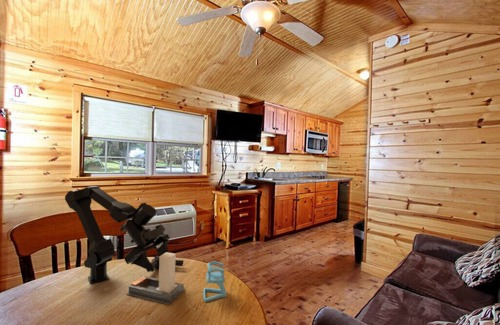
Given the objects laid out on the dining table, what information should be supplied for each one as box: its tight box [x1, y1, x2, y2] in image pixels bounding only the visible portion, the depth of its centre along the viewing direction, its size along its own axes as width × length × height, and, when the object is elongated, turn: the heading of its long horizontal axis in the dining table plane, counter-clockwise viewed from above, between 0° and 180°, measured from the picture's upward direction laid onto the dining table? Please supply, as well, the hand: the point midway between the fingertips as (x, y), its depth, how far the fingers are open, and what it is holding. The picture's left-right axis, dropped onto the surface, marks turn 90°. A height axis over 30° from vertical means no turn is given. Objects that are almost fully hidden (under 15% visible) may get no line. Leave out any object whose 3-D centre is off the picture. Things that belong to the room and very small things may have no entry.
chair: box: [203, 260, 227, 303], centre depth 89 cm, size 8×8×12 cm
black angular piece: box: [145, 251, 184, 273], centre depth 111 cm, size 5×20×15 cm
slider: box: [155, 251, 178, 294], centre depth 88 cm, size 6×5×14 cm
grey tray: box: [126, 275, 186, 306], centre depth 90 cm, size 18×10×3 cm, turn 73°
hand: (161, 265), depth 89 cm, fingers open, 9 cm apart
